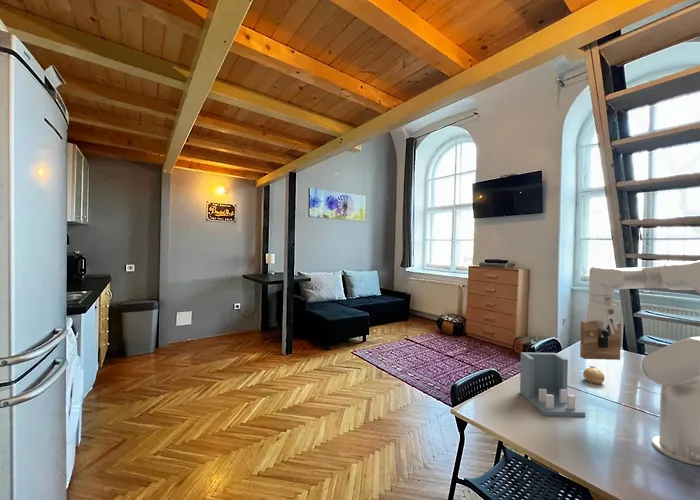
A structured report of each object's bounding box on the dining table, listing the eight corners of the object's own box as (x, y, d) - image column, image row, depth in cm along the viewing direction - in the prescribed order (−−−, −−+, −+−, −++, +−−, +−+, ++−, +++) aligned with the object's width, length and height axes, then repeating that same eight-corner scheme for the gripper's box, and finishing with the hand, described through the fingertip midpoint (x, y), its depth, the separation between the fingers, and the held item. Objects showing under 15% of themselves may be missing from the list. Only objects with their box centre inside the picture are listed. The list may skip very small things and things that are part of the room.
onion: (608, 383, 143) (608, 368, 143) (598, 387, 139) (599, 371, 139) (588, 377, 150) (589, 362, 150) (579, 380, 147) (579, 365, 147)
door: (622, 360, 117) (623, 324, 117) (586, 359, 118) (586, 323, 118) (615, 357, 121) (616, 321, 120) (580, 356, 122) (580, 321, 121)
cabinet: (585, 416, 116) (586, 370, 115) (544, 415, 117) (545, 369, 116) (555, 393, 134) (556, 352, 133) (520, 392, 135) (520, 352, 134)
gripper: (628, 303, 111) (627, 353, 112) (596, 295, 127) (595, 339, 128) (606, 302, 112) (605, 353, 112) (577, 295, 128) (576, 339, 128)
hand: (600, 345), depth 120 cm, fingers closed on door, 2 cm apart
